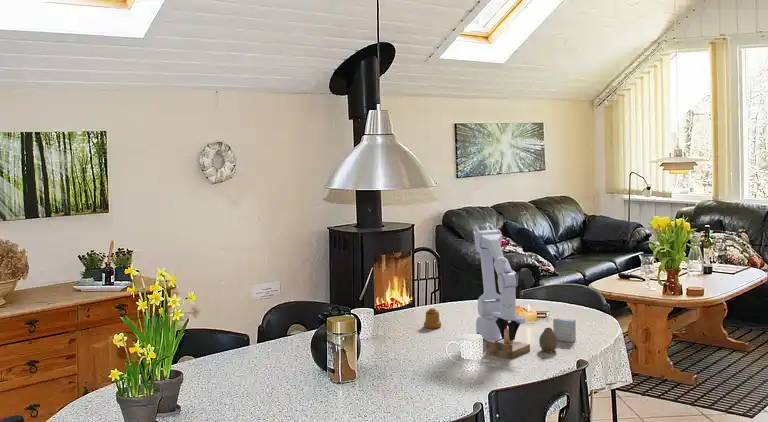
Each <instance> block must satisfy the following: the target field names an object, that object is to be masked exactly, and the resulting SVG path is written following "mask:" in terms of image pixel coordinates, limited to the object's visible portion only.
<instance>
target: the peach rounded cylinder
mask: <svg viewBox="0 0 768 422" xmlns="http://www.w3.org/2000/svg"><path fill="white" fill-rule="evenodd" d="M503 340H504V344H513V341H514V340H512V341H510V338H509V328H508V327H507V328H505V329H504V339H503Z"/></svg>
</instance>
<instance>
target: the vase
mask: <svg viewBox="0 0 768 422" xmlns="http://www.w3.org/2000/svg"><path fill="white" fill-rule="evenodd" d="M552 328H553V327H545V328H544V330H543V332H541V334H540V336H539V340H538V341H539V342H538V343H539V347H540V349H541V350H542V351H543V352H546V353H553V352H555V350H556V349H557V348H558V345H559V340H558V339H557V336H556V334H555V333H554V332H553V329H552Z"/></svg>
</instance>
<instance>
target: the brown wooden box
mask: <svg viewBox="0 0 768 422" xmlns="http://www.w3.org/2000/svg"><path fill="white" fill-rule="evenodd" d="M485 341H486V349H485V350H486V354H487V353H489V354H488V355H491V354H493V355H492V356H495V355H496V356H495V357H501V358H504V359H510V360H512V359H514V358H517V357H519V356H521V355H524V354H525V353H528V352H530V351H531V344H530V343H526V342H521V341H515V340H513V344H504V339H502V340H501V341H500V340H499V341H490V340H485Z"/></svg>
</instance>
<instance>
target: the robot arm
mask: <svg viewBox="0 0 768 422" xmlns="http://www.w3.org/2000/svg"><path fill="white" fill-rule="evenodd" d="M474 234H475V235H474V245H475V251H476V252H477V253H479V256H480V266H481V274H482V284H483V285H482V286H483V294H481V295H480V296H479V297H478V299H477V312H478V313H477V314H478V317H477V318H476V320H475V335H476V334H480V335H482V337H483V339H484V341H487V340H490V341H495V342H499V341H500V340H504V329H505V328H509V338H510V341H512V340H513V341H515V339H516V335H517V331H518V330H519V327H520V326H521V325H524V324H526V318H525V317H521V316H519V315H517V313H516V312H517V309H516V306H517V305H516V303H517V301H516V300H517V299H516V296H517V295H516V288H517V287H518V285H519V278H518V274H517V272H516V271H514V270H513V269H512V267H511V264H510V262H509V260H508V259H507V258H506V257H504V253H503V249H502V242H503V236H502V235H503V234H502V231H501V230H500V229H499V228H497V229H489V230H479V229H478V230H476V231H475V233H474ZM495 272H496V274H497V285H498V291H499V293H500V294H499V293H498V292H497V287H496V279H495V278H496V277H495Z"/></svg>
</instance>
